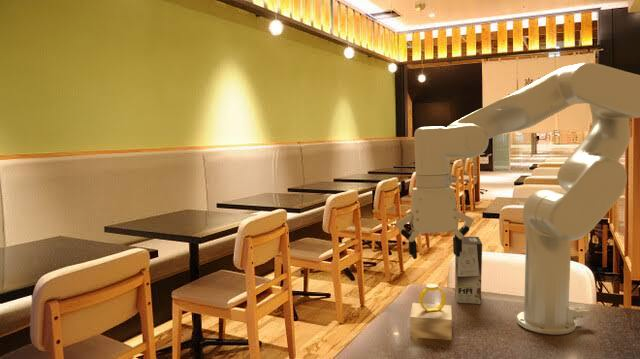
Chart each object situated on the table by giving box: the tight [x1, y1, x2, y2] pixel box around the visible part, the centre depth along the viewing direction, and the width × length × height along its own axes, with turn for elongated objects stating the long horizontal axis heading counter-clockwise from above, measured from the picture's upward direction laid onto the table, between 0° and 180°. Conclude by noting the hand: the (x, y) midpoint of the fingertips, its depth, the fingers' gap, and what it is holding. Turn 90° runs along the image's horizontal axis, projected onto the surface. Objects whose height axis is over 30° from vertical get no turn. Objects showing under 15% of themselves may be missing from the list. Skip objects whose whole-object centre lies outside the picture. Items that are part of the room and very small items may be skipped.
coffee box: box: [454, 236, 483, 305], centre depth 140 cm, size 9×6×16 cm
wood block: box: [409, 302, 453, 341], centre depth 119 cm, size 9×9×5 cm
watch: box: [418, 283, 447, 312], centre depth 119 cm, size 6×3×6 cm, turn 101°
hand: (435, 256), depth 118 cm, fingers open, 9 cm apart
